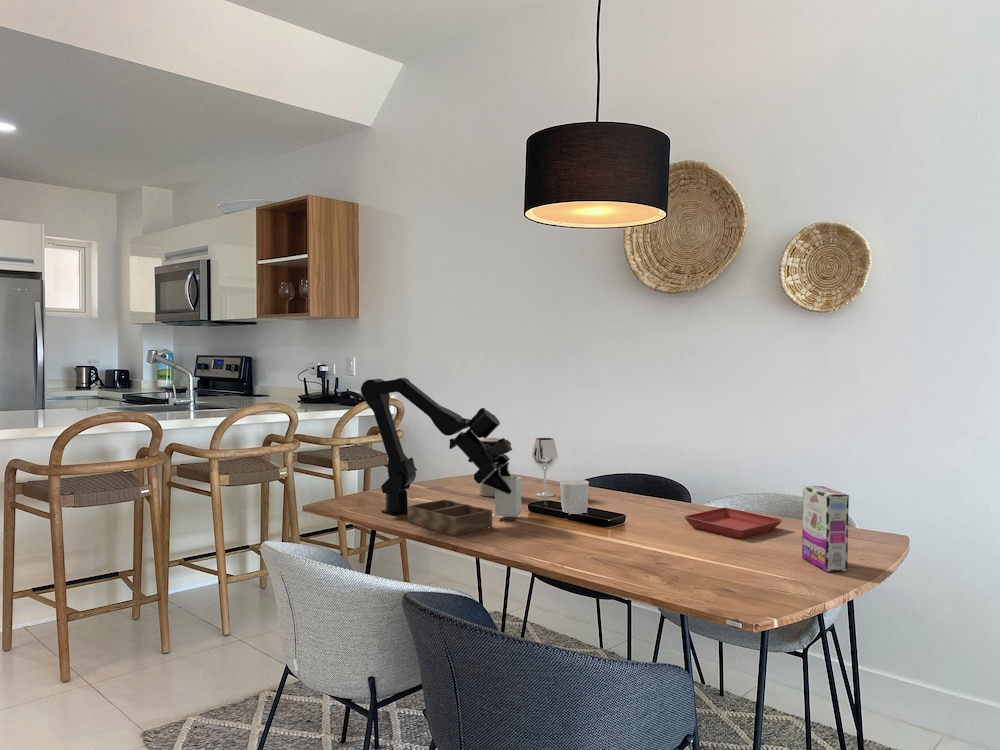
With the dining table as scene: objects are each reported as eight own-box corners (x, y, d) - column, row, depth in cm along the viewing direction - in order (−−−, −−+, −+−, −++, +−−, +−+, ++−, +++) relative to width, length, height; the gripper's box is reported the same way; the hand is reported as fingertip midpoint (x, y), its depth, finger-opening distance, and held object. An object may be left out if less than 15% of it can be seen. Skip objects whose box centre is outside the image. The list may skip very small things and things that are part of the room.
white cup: (587, 521, 208) (587, 484, 207) (558, 520, 209) (558, 484, 209) (590, 515, 215) (589, 479, 215) (562, 513, 217) (562, 479, 217)
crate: (407, 522, 208) (407, 505, 207) (445, 515, 216) (445, 498, 216) (454, 535, 193) (453, 517, 193) (492, 527, 202) (492, 509, 202)
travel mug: (497, 498, 240) (497, 441, 239) (475, 496, 243) (474, 439, 243) (508, 493, 247) (508, 438, 246) (486, 491, 251) (486, 437, 250)
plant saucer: (783, 531, 197) (783, 518, 197) (741, 542, 186) (741, 529, 186) (724, 518, 211) (724, 507, 211) (682, 528, 200) (682, 516, 200)
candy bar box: (849, 572, 160) (850, 494, 160) (826, 573, 160) (827, 495, 159) (822, 557, 171) (823, 484, 171) (800, 558, 171) (801, 485, 170)
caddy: (494, 515, 210) (494, 479, 209) (500, 511, 215) (500, 475, 215) (516, 517, 208) (516, 480, 208) (521, 512, 214) (521, 476, 213)
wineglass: (558, 497, 240) (558, 440, 240) (532, 497, 240) (532, 440, 240) (556, 492, 248) (556, 437, 248) (531, 492, 249) (531, 437, 248)
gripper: (485, 433, 203) (525, 476, 200) (502, 426, 221) (540, 465, 218) (457, 461, 205) (496, 504, 203) (476, 452, 223) (513, 491, 221)
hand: (513, 490), depth 211 cm, fingers closed on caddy, 6 cm apart
